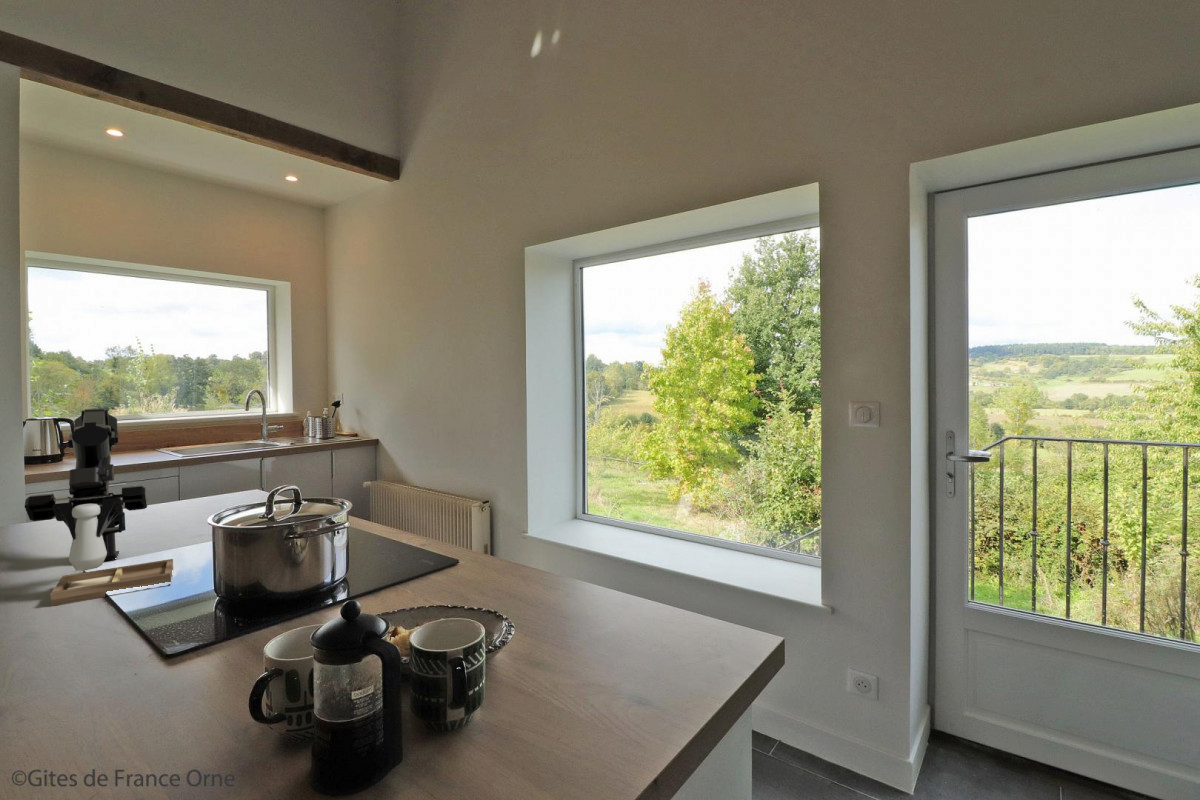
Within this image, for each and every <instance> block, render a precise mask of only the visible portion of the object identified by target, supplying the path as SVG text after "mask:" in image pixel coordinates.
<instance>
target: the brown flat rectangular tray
mask: <svg viewBox="0 0 1200 800" xmlns="http://www.w3.org/2000/svg"><path fill="white" fill-rule="evenodd" d="M172 570H173V571H174V558H170V559H163V560H156V561H150V562H143V563H137V564H130V565H125V566H119V567H118V566H117V567H112V568H111V567H110V568H104V569H98V570H97V569H96V570H92V571H84V572H79V573H72V574H66V575H62V576H61V578H60V579H59V581H58V583H57V584H56V585H55V586H54V588H53V589H52V591H51V592H50V606H51V607H56V606H60V605H65V604H71V603H73V604H74V603H79V602H82V601H84V602H85V601H89V600H93V599H100V598H105V594H106V592H107V591H113V590H119V589H126V588H133V587H140V586H141V587H142V586H148V585H154V584H159V583H165V582H171V583H172V581H171V577H172V578H173V575H172Z"/></svg>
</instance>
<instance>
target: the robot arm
mask: <svg viewBox="0 0 1200 800" xmlns="http://www.w3.org/2000/svg"><path fill="white" fill-rule="evenodd" d="M80 411H81V415H80V416H79V417H77V418H75V419H74V420H73V433H70V434H69V435H68V436H69V437H68V441H67V442H68V449H69V450H73V454H74V455H73V456H74V458H75V459H76V461H75V468H72V469H70V470H69V475H68V486H69V490H68V492H69V495H70V496H59V497H55V494H54V493H46V494H45V493H44V494H35V495H30V496H28V497H27V498H26V499H25V500H24V501H25V502H24V509H25V511H26V513H27V516H28V519H29V520H30V521H32V522H38V521H39V522H40V521H41V522H42V521H48V520H52V519H54V518H55V520H56V521H57V522H64V524H65V525H66V527H67V528H68V530H69V533H70V536H71V538H72V540H74V539H76V538H75V526H76V521H77V518H74V517H73V516H72V509H73V508H74V507H76V506H78V505H82V504H97V505H99V506H100V514H99V515H97V519H98V522H99V523H98V527H97V536H98V537H100V536H101V535H102V537H103V540H104V544H105V547H106V551H107V555H106V558H105V560H109V561H111V560H110V559H115V558H117V559H118V557H119V555H120V553H119V552H120V551H119V550H116V534H117V533H122V532H124V531H126V513H125V512H124V509H125V510H127V511H139V510H140V511H141V510H145V509H147V508H148V494H147V490H146V489H147V488H146V487H145V486H144V485H132V486H122V487H121V493H117V494H115V493H113V492H109V491H110V490H109V486H110V482H113V481H115V465H114V464H113V463H111V461H112V460H111V459H112V456H111V455H110V453H111V452H112V450H113V449H114V448H115V447H116V446H117V444H118V443H120V442H119V430H118V429H119V427H118V426H119V425H118V419H117V417H114V416H113V415H111V414H109V411H108V409H105V408H85V409H84V410H80ZM123 506H124V508H123ZM118 554H119V555H118ZM117 556H118V557H117ZM115 560H116V559H115Z"/></svg>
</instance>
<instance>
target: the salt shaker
mask: <svg viewBox="0 0 1200 800" xmlns="http://www.w3.org/2000/svg"><path fill="white" fill-rule="evenodd" d="M99 514H100V506H99V505H97V504H82V505H78V506H76V507H74V508H73V509H72V516H73V517H74V518H77V521H76V526H75V538H76V539H74V540H73V539H72V541H71V544H70V545H71V546H70V550H69V555H68V561H69V563H70V564H71V565H72V567H73V569H74V570H75V571H79V572H80V571H84V572H86V571H89V570H93V569H94V570H95V569H98V568H100V567H101V566H102V565H103V563H104V562H105V561H104V560H105V558H106V555H107V551H106V547H105V544H104V540H103V537H102V535H101V536H100V537H98V536H97V527H98V523H99V522H98V519H97V515H99Z"/></svg>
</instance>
